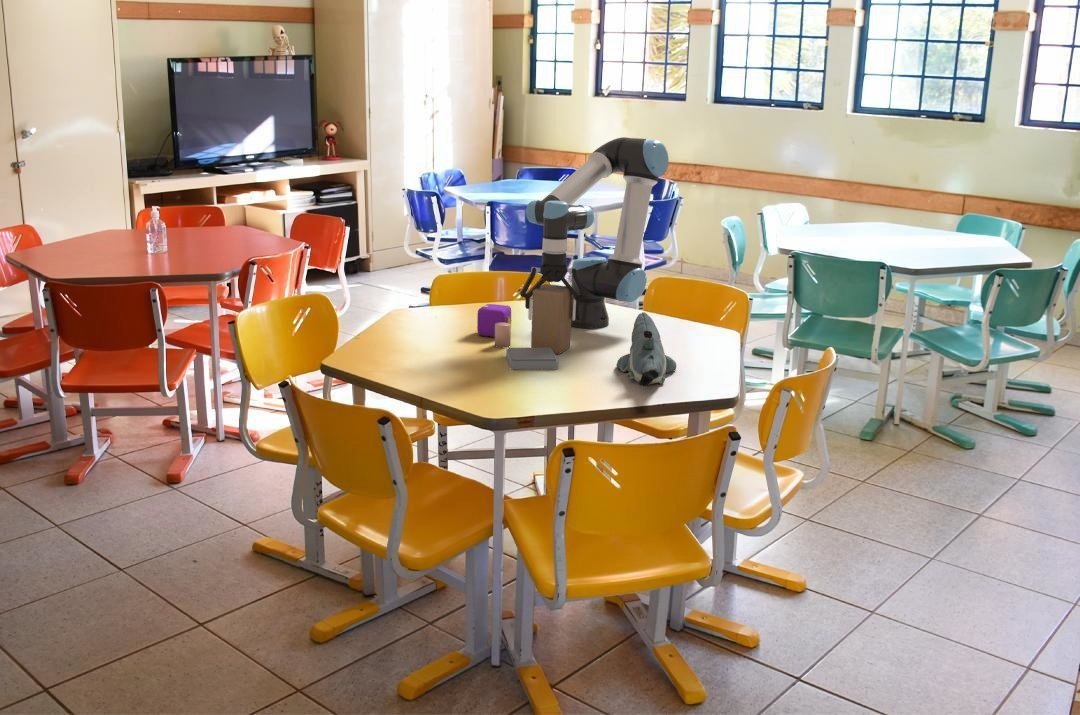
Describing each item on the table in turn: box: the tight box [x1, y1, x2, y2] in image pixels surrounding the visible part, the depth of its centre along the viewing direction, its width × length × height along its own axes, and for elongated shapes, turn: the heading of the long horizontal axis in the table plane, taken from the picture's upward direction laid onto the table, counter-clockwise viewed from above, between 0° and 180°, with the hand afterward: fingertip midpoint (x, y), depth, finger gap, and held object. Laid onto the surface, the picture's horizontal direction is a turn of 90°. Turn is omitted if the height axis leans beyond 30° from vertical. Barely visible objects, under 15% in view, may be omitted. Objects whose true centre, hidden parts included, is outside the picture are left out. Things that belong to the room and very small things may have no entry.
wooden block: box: [530, 283, 572, 355], centre depth 329 cm, size 10×10×20 cm
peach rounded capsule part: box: [494, 323, 512, 348], centre depth 333 cm, size 5×5×7 cm
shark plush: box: [616, 311, 677, 387], centre depth 299 cm, size 18×39×16 cm, turn 166°
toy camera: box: [476, 303, 512, 338], centre depth 348 cm, size 11×14×10 cm
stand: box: [505, 347, 559, 370], centre depth 316 cm, size 14×14×3 cm
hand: (551, 319), depth 328 cm, fingers open, 13 cm apart
